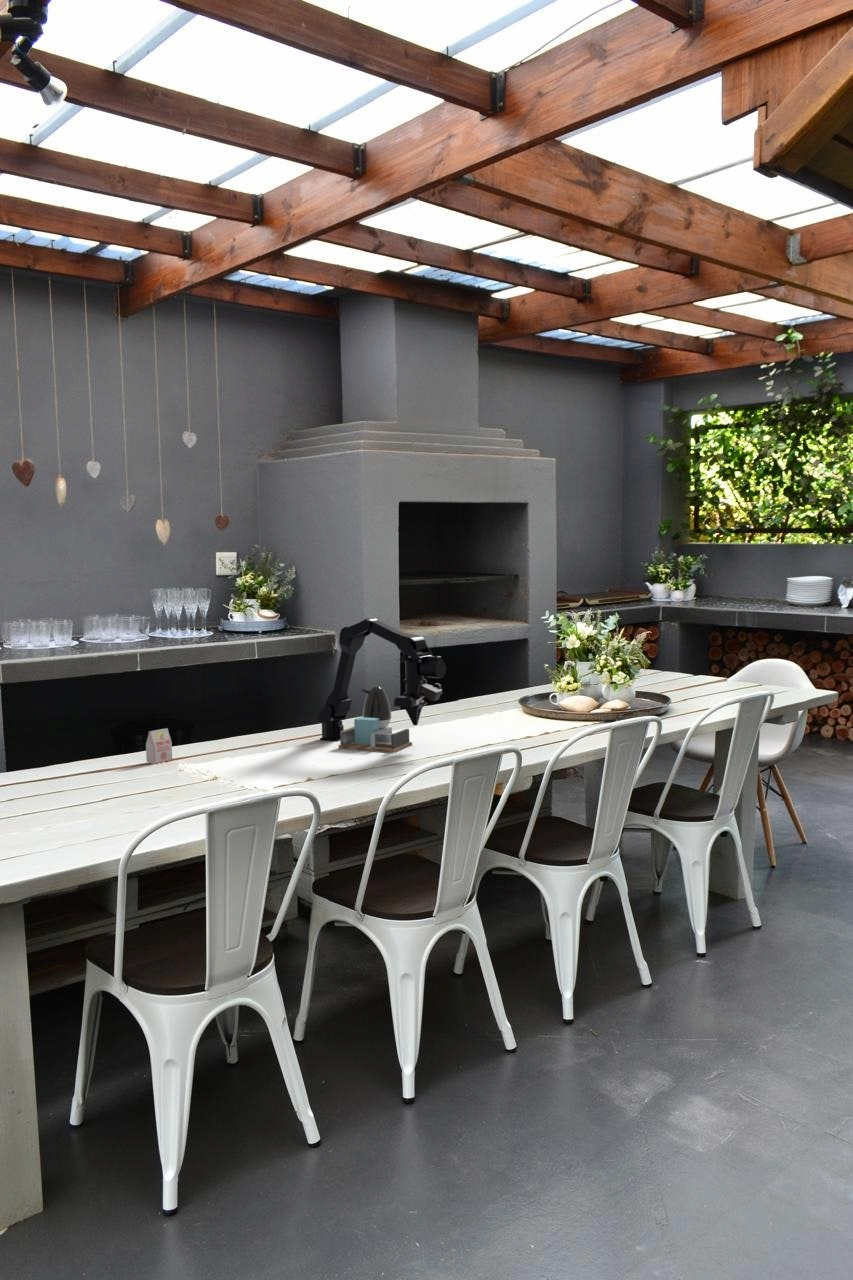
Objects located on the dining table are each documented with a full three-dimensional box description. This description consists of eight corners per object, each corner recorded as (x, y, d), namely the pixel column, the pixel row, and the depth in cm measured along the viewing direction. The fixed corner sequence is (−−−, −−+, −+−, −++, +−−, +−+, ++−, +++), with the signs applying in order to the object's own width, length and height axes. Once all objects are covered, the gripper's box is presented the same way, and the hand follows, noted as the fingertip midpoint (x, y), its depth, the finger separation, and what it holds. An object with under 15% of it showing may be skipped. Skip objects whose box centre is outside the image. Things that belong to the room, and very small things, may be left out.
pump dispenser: (361, 726, 365) (360, 684, 364) (390, 725, 366) (389, 683, 365) (363, 731, 355) (362, 688, 353) (392, 730, 356) (391, 687, 355)
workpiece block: (354, 743, 328) (354, 719, 327) (360, 741, 332) (360, 717, 331) (374, 745, 325) (373, 720, 324) (379, 742, 329) (379, 718, 328)
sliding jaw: (370, 747, 321) (370, 733, 320) (387, 740, 332) (387, 727, 331) (393, 749, 318) (393, 735, 317) (410, 741, 328) (409, 728, 328)
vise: (338, 748, 325) (338, 731, 325) (357, 741, 337) (357, 724, 337) (394, 752, 317) (393, 735, 316) (412, 745, 329) (411, 728, 328)
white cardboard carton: (146, 763, 308) (145, 730, 307) (164, 759, 314) (163, 727, 313) (154, 764, 306) (152, 732, 305) (172, 760, 311) (171, 728, 310)
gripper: (425, 681, 307) (426, 732, 309) (449, 673, 324) (450, 721, 325) (392, 679, 312) (393, 729, 313) (418, 672, 329) (418, 719, 330)
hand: (415, 725), depth 320 cm, fingers closed
